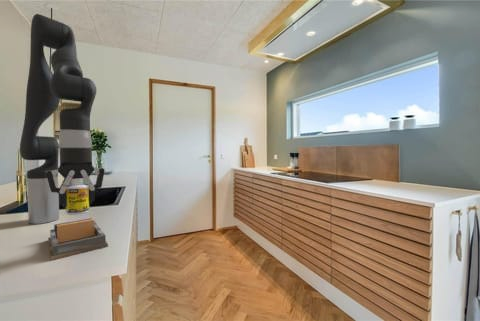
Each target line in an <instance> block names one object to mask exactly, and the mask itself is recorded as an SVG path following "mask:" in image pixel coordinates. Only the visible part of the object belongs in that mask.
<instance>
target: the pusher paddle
mask: <svg viewBox="0 0 480 321" xmlns="http://www.w3.org/2000/svg"><path fill="white" fill-rule="evenodd" d="M90 219H91V218H90ZM84 220H85V219H84ZM78 221H79V220H78ZM94 222H95V219H94V218H92V219H91V220H85V221H79V222H73V223H67V224H61V225H57V240H58V243H60V242H65V241H69V240H74V239H79V238H84V237H88V236H93V235H95V229H94Z"/></svg>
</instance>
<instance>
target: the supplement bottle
mask: <svg viewBox="0 0 480 321" xmlns="http://www.w3.org/2000/svg"><path fill="white" fill-rule="evenodd" d="M65 193H66V207H65V213H66V215H68V216H77V215H83V214H86V213H89V211H90V204H89V187H88V185H87V184H86V181H85V180H84V178H77V179H71V181H70V183H69V185H68V187H67V188H66V190H65Z"/></svg>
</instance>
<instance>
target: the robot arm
mask: <svg viewBox="0 0 480 321" xmlns="http://www.w3.org/2000/svg"><path fill="white" fill-rule="evenodd" d="M75 38H76V37H75V33H74V30H73V29H72V28H71V26H69V25H67V24H66V23H64V22H60V21H58V20H56V19H53V18H52V17H51V18H50V17H48V16H45V15H43V14H39V13H36V14H34V15H33V17H32V19H31V25H30V51H29V52H30V54H29V55H30V56H29V58H30V59H29V67H28V68H29V69H28V76H27V83H26V94H25V95H26V96H25V114H24V122H23V127H22V131H21V138H20V143H19V154H20V157H21V158H22V159H23V160H25V161H44V163H43V164H42V165H39V166H37V167H35V168H32V169H29V170H27V171H26V185H27V186H26V187H27V191H26V192H27V208H28V211H27V215H28V216H27V217H28V224H30V225H31V224H32V225H39V224H45V223H51V222H54V221H57V220H59V219H60V206H62V208H66V191H65V190H66V188H67V187H68V185H70V184H69V183H70V181H71V179H77V178H84V180H85V181H86V183H85V184H87V185H88V187H89V205H90V204H93V202H95V200H96V194H95V191H96V190H97V189H101V188H102V186H103V181H104V175H105V169H104V168H103V167H94V165H93V152H92V151H93V150H92V149H93V148H92V146H93V143H92V136H91V112H92V108H93V104H94V102H95V98H96V95H97V86H96V84H95V82H94V81H93V80H92V79H90V78H88V77H84V73H83V70H82V68H81V65H80V62H79V59H78V55H77V52H78V51H77V45H76V39H75ZM45 47H47V48H49V49H52V50H54V51H53V53H52V54H51V56H50V63H51V64H50V65H51V68H52V70H51V68H50V66H49V64H48V61H47V58H46V56H45V55H46V54H45V50H44V48H45ZM60 100H62V101H63V100H64V101H72V102H80V105H79V107H73V108H62V109H60V112H59V136H58V139H57V137H54V136H44V135H43V136H41V135H37V133H38V131H39V129H40V128H41V126H42V124H43V123H45V122H46V120H48V119H49V118H50V117H51V116H52V115H53V114H54V113H55V112H56V111H57V110H58V108H59V107H60V102H61V101H60ZM92 173H95V175H97V177H96V181H95V184H93V182H92V180H91V179H90V176H92ZM59 174H60V175H61V177H62V178H63V180H62V183H61V185H60V187H59Z"/></svg>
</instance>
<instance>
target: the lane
mask: <svg viewBox="0 0 480 321" xmlns="http://www.w3.org/2000/svg"><path fill="white" fill-rule="evenodd" d="M91 219H93V218H91V217H90V218H85V219H80V220H73V221H67V222H62V223H56V224H54V225H53V227H54V228H53V229H50V230H49V233H50V237H48V248H49V256H50V261H53V260H58V259H63V258H65V257H66V258H68V257H70V256H74V255H78V254H84V253H86V252H92V251H95V250H98V249H103V248H107V247H109V242H107V240H106V234H105V233H104V231H103V230H102V228H101V227H100V226H99V225H98V223H97V222H95V221H94V229H95V235H93V236H88V237H84V238H79V239H74V240H69V241H65V242H60V243H58V240H57V225H61V224H67V223H73V222H79V221H85V220H91Z"/></svg>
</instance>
